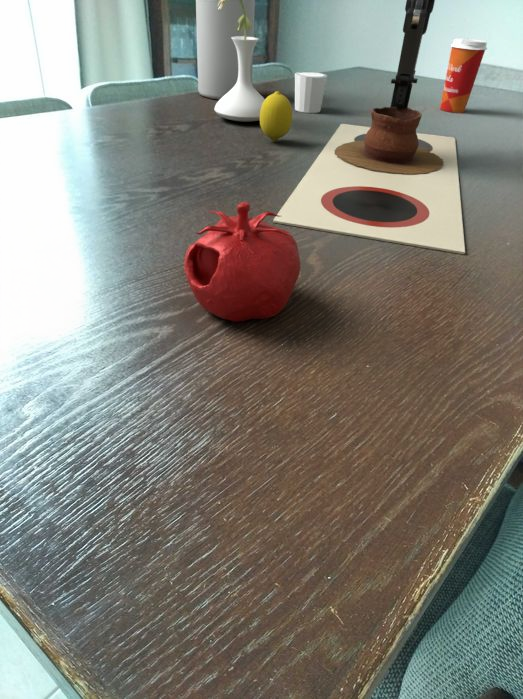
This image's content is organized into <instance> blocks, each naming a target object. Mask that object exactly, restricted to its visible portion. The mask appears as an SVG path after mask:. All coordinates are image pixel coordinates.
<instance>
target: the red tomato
mask: <svg viewBox="0 0 523 699" xmlns="http://www.w3.org/2000/svg"><path fill="white" fill-rule="evenodd" d="M250 210H251V205H250V203H249V201H243V202H240V203H238V204H237V206H236V212H237V215H233V216H228V215H227V214H225V212H223V211H217V210H215V211H211V210H209V211H208V213H210V214H217V216H219V217H220V218H221V219H220V220H218V222H217V223H216V224H214V225H207V226H205V227H204V228H203V229H202V230H200V231H199V232H195V234H197V235H199V236H200V235H202V234H204V233H205V234H204V235H202V236H201V237H199V238H198V239H196V241H195V242H194V243H192V244H191V245H189V246H188V248H187V249H186V252H185V256H184V260H183V261H184V262H183V269H184V274H185V277H186V282H187V283H188V285H189V288H190V290H191V292H192V294H193V296H194V298H195V299H196V301H197V303H198V304H199V305H200V306H201V307H202V308H203V309H204V310H205V311H206V312H208V313H210V314H212V315H214V316H216V317H218V318H220V319H223V320H228V321H231V322H235V323H236V322H239V323H240V322H246V321H249V320H254V319H259V320H260V319H261V320H264V319H270V318H272V317H274V316H277V315H278V314H279V313H280V312H281V311H282V310H283V309H284V308H285V307H286V305H287V303H288V302H289V300H290V298H291V296H292V294H293V292H294V289H295V287H296V283H297V282H298V279H299V276H300V273H301V258H300V251H299V247H298V244H297V241H296V239H295V238H294V236H293V235H292V233H290V232H289V231H287V230H284V229H283V228H279V227H276V226H273V225H271V224H269V223H267V222H266V221H265V222H264V221H263V220H265V218H266V217H267V216H269V217H276V216H278V217H280V216H279V215H277V214H276V213H274V212H272V211H269V210H267V211H265V212H263V213H260V214H258V215H256V216H254V217H249V212H250Z"/></svg>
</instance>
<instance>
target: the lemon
mask: <svg viewBox="0 0 523 699" xmlns="http://www.w3.org/2000/svg"><path fill="white" fill-rule="evenodd" d="M264 99H265V100H264V102H263V104H262V107H261V110H260V120H259V126H260V128H261V131H262V132H263V134H264V135H265V136H266V137H268V138H269V139H270V140H271V141H272V142H273V143H276V142H277V141H278V140H279V139H281V138H283V137H285V136H286V135H287V134H288V133H289V131H290V129H291V126H292V122H293V111H292V105H291V102H290V100H289V99H288V97H286V95H284V94H282V93H281V92H280V91H278V90H277V91H274V92H273V93H271V94H269V95H268V96H267V97H266V98H264Z"/></svg>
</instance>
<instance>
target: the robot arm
mask: <svg viewBox="0 0 523 699" xmlns="http://www.w3.org/2000/svg"><path fill="white" fill-rule="evenodd" d="M435 3H436V0H406V1H405V7H404V11H405V15H404V21H403V27H402V32H403V35H404V36H403V40H402V45H401V50H400V56H399V61H398V66H397V73H396V75H395V78H391V81H390V84H393V85H394V86H393V92H392V97H391V102H390V107H397V108H404V109H405V108H409V102H410V99H411V93H412V89H413V84H417V83H418V80H419V79H418V78H416V77H414V76H415V75H416V72H417V71H416V67H417V62H418V58H419V53H420V49H421V44H422V39H423V36H424V35H425V34H426V33H427V30H428V28H429V27H428V26H429V21H430V18H431V14H432V13H433V10H434V6H435Z"/></svg>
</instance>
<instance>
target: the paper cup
mask: <svg viewBox="0 0 523 699" xmlns="http://www.w3.org/2000/svg"><path fill="white" fill-rule="evenodd" d="M487 44H488V42H487V41H486V40H482V39H481V40H480V39H472V38H471V39H470V38H454V40H453V42H452V43H451V44H450V47H451V49H450V54H449V59H448V63H447V64H448V65H447V69H446V74H445V79H444V86H443V90H442V94H441V95H442V96H441V101H440V107H439V109H440V110H441V111H443V112H446V113H453V114H454V113H456V114H461V113H465V111H466V108H467V106H468V103H469V100H470V97H471V94H472V90H473V88H474V84H475V82H476V79H477V75H478V72H479V71H480V67H481V64H482V61H483V58H484V54H485V52H486V50H488V47H487Z"/></svg>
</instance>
